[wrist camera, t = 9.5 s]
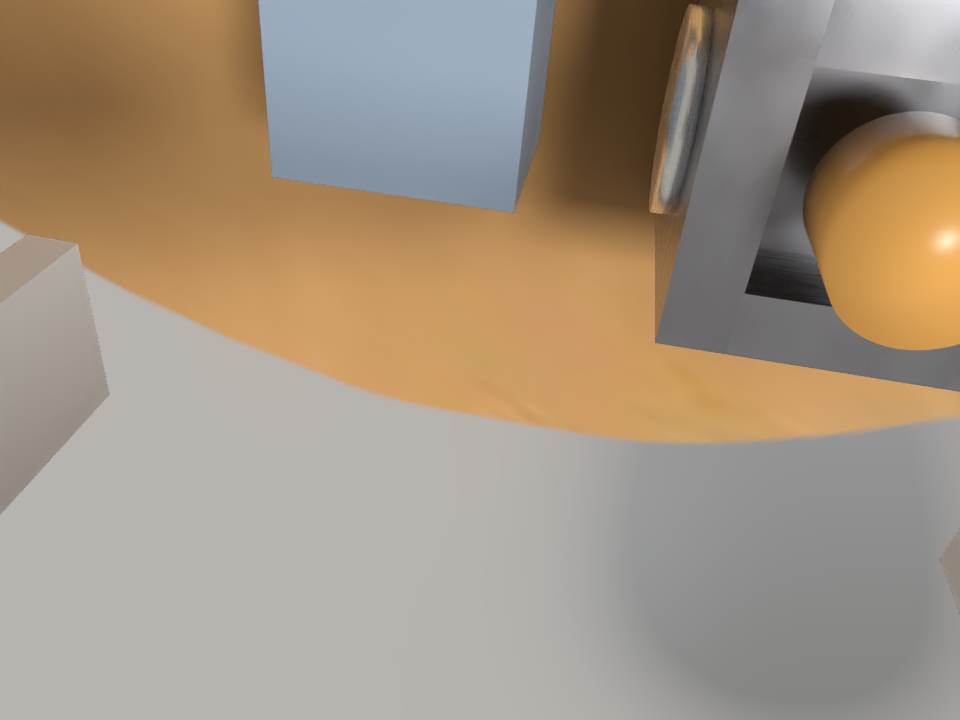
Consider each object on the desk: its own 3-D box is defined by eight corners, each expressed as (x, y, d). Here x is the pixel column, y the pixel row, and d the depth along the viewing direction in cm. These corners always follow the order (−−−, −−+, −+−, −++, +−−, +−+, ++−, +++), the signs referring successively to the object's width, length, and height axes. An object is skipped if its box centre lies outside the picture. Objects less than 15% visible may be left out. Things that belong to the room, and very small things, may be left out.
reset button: (835, 99, 19) (865, 152, 16) (1030, 124, 19) (1097, 183, 16) (781, 263, 22) (799, 333, 19) (951, 288, 21) (997, 364, 19)
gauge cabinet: (700, -96, 26) (720, -44, 18) (1054, -58, 25) (1250, 15, 16) (639, 198, 31) (633, 339, 23) (924, 239, 30) (1021, 401, 22)
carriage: (356, -95, 26) (254, -56, 20) (570, -71, 26) (539, -22, 19) (358, 91, 30) (272, 177, 23) (546, 116, 29) (513, 212, 23)
